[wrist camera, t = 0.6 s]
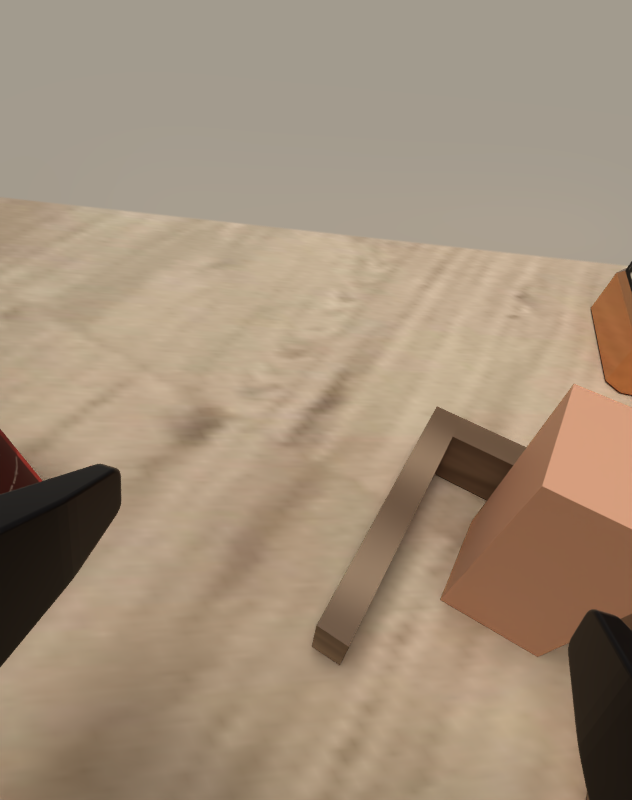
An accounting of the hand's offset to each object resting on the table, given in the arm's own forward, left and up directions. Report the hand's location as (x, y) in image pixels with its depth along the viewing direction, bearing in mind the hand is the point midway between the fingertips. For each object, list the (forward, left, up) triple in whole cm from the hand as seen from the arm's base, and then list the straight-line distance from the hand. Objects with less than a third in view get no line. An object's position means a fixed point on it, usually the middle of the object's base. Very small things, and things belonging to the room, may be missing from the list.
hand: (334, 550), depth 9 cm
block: (+4, -11, -16) cm, 19 cm away
